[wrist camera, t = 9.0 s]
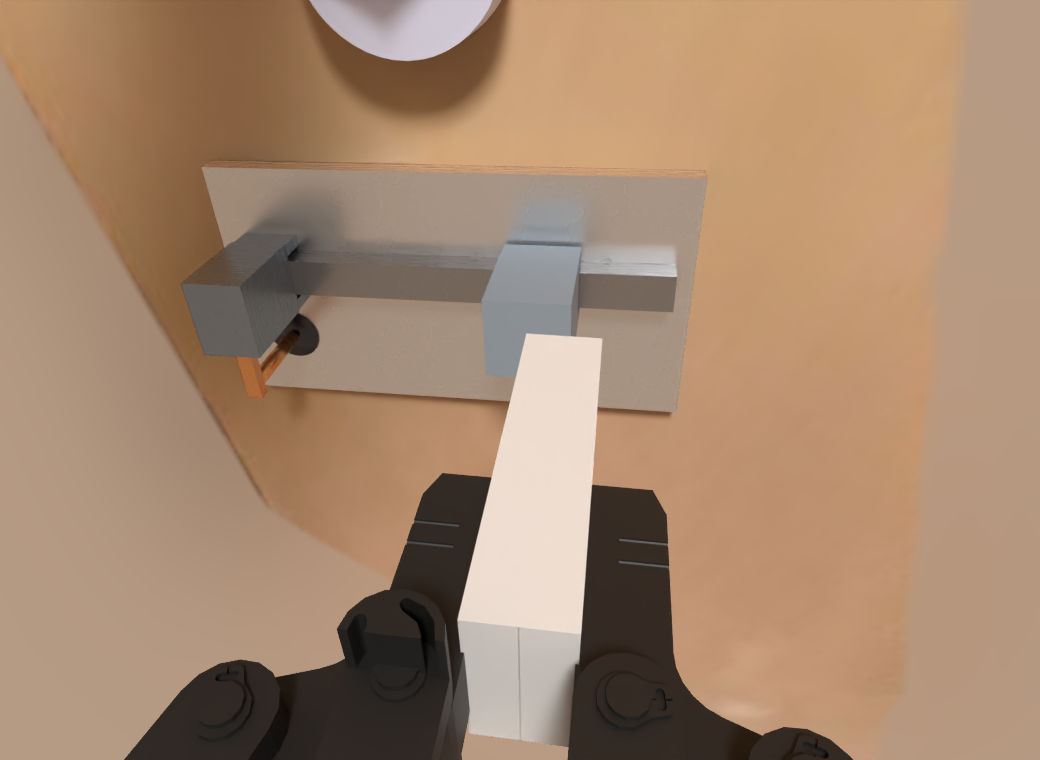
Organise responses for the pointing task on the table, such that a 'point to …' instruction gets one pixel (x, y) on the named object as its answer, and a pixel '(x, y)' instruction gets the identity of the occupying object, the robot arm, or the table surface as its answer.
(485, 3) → the wedge on round base
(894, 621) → the table surface
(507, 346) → the slider
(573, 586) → the robot arm
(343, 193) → the bolt plate
